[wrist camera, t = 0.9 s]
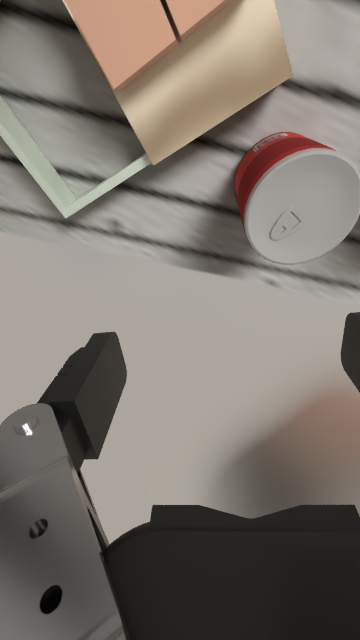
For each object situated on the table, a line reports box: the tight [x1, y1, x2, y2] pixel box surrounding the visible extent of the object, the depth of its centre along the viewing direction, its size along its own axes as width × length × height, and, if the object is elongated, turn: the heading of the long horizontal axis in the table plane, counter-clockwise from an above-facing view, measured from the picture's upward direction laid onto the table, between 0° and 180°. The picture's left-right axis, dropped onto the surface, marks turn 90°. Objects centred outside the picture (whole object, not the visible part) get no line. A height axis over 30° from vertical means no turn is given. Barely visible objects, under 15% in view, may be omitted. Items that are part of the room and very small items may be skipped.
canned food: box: [234, 132, 360, 265], centre depth 24 cm, size 8×8×11 cm
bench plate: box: [62, 0, 293, 166], centre depth 20 cm, size 16×12×4 cm
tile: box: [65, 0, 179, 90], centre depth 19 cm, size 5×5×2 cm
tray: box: [0, 0, 152, 219], centre depth 25 cm, size 16×11×3 cm
